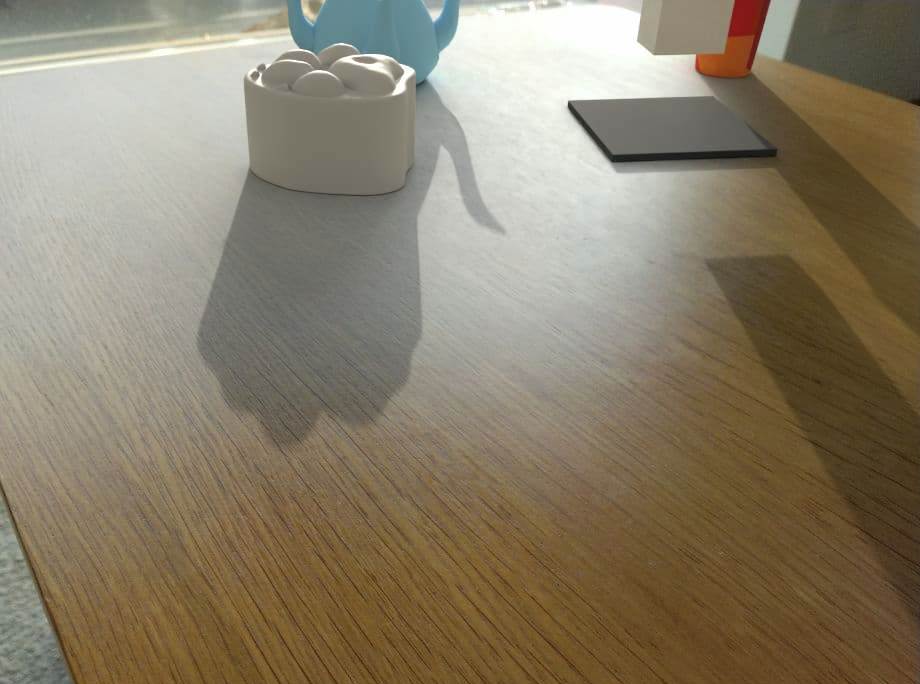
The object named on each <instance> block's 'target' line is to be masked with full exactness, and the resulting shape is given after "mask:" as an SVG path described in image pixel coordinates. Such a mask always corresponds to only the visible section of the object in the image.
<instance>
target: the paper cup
mask: <svg viewBox="0 0 920 684" xmlns="http://www.w3.org/2000/svg"><path fill="white" fill-rule="evenodd" d="M771 1H772V0H735V1H734V6H733V11H732V16H731V21H730V26H729V31H728V36H727V41H726V46H725V51H724V54H695V59H694V69H695V70H696V71H697V72H698V73H700V74H703V75H706V76H711V77H718V78H742V77H745V76H748V75H749V74H750V73H751V72H752V68H753V65H754V62H755V58H756V55H757V52H758V49H759V45H760V41H761V38H762V34H763V30H764V26H765V23H766V21H767V20H766V19H767V16H768V13H769V9H770V5H771Z"/></svg>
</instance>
